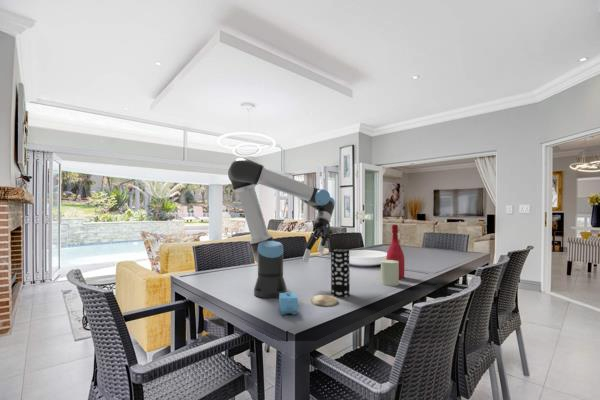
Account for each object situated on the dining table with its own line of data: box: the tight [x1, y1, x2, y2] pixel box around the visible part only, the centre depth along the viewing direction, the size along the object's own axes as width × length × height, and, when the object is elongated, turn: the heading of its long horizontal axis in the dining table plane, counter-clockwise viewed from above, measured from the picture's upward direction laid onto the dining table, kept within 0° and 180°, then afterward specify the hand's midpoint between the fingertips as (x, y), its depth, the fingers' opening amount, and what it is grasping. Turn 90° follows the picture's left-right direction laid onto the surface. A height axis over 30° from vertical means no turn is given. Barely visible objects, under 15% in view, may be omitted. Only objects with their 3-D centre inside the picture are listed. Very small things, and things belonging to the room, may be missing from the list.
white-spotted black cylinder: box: [330, 248, 351, 298], centre depth 136 cm, size 8×8×20 cm
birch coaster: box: [310, 294, 338, 307], centre depth 125 cm, size 11×11×1 cm
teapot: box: [278, 291, 298, 316], centre depth 111 cm, size 12×6×8 cm, turn 8°
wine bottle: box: [385, 224, 405, 280], centre depth 170 cm, size 10×10×30 cm
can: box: [380, 259, 400, 287], centre depth 156 cm, size 9×9×12 cm
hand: (312, 256), depth 142 cm, fingers open, 13 cm apart
